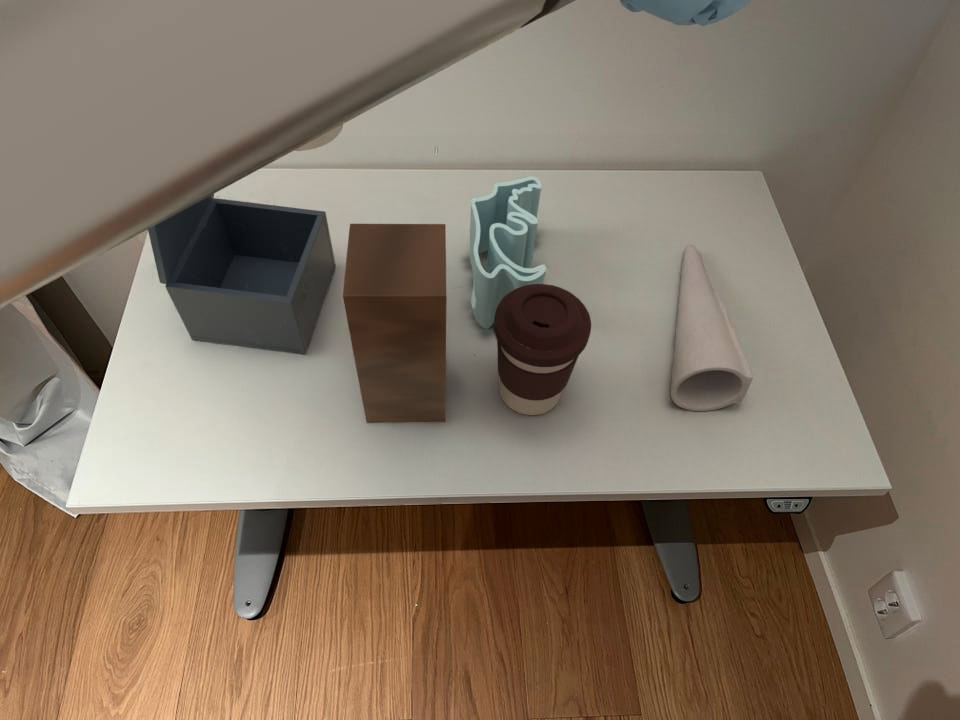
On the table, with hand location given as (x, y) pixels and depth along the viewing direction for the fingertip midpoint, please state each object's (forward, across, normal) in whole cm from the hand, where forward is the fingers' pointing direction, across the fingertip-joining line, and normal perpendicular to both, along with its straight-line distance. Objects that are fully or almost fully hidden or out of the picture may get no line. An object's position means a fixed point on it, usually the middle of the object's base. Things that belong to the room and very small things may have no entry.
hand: (261, 82), depth 55 cm
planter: (-1, +26, -50) cm, 57 cm away
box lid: (+23, -1, -2) cm, 23 cm away
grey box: (+32, +1, -18) cm, 36 cm away
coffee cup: (+7, +7, -42) cm, 43 cm away
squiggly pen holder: (+15, +21, -34) cm, 43 cm away
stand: (+16, 0, -34) cm, 37 cm away
